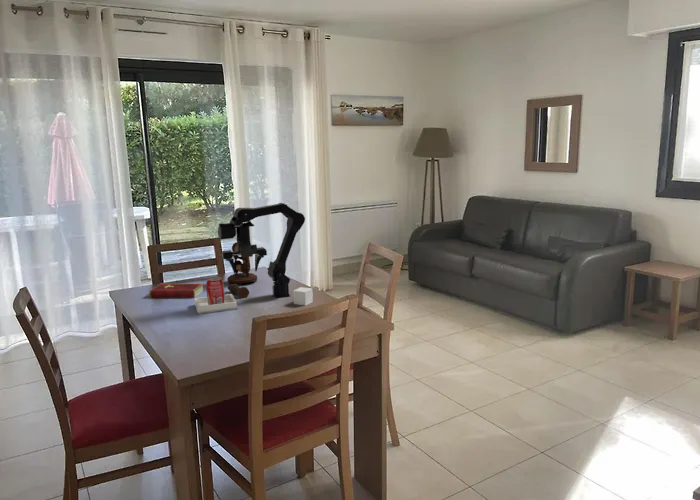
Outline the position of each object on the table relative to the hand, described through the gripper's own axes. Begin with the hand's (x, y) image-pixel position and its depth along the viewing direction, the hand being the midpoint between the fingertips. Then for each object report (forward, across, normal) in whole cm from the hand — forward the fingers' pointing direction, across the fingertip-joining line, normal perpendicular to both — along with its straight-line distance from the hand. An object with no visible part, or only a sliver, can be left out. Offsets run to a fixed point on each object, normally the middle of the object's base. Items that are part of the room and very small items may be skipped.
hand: (245, 272), depth 232 cm
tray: (+13, -14, -3) cm, 19 cm away
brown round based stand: (+13, +4, +34) cm, 37 cm away
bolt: (+13, -2, +12) cm, 18 cm away
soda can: (+12, -14, -4) cm, 19 cm away
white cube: (+13, +22, -13) cm, 29 cm away
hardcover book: (+14, -28, +25) cm, 40 cm away
